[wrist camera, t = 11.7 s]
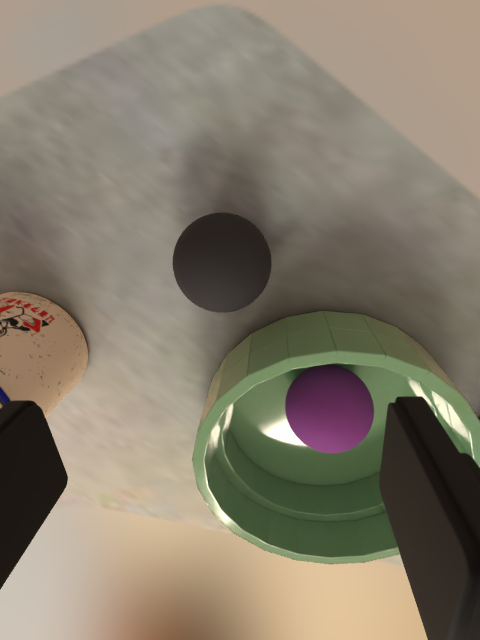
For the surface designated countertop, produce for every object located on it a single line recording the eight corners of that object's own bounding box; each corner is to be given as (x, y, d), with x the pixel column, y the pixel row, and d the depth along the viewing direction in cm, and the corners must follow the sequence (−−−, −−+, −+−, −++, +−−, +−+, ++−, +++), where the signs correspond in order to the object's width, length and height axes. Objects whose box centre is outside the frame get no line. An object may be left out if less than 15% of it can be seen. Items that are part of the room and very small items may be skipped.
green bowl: (221, 491, 31) (210, 560, 26) (194, 312, 24) (172, 355, 19) (424, 494, 29) (458, 569, 24) (460, 300, 22) (520, 344, 17)
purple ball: (284, 413, 26) (288, 473, 21) (282, 350, 24) (285, 400, 19) (359, 412, 26) (381, 473, 21) (364, 347, 24) (390, 398, 19)
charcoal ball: (192, 295, 24) (170, 330, 19) (179, 211, 22) (150, 225, 16) (273, 290, 23) (273, 326, 18) (269, 203, 21) (268, 216, 16)
